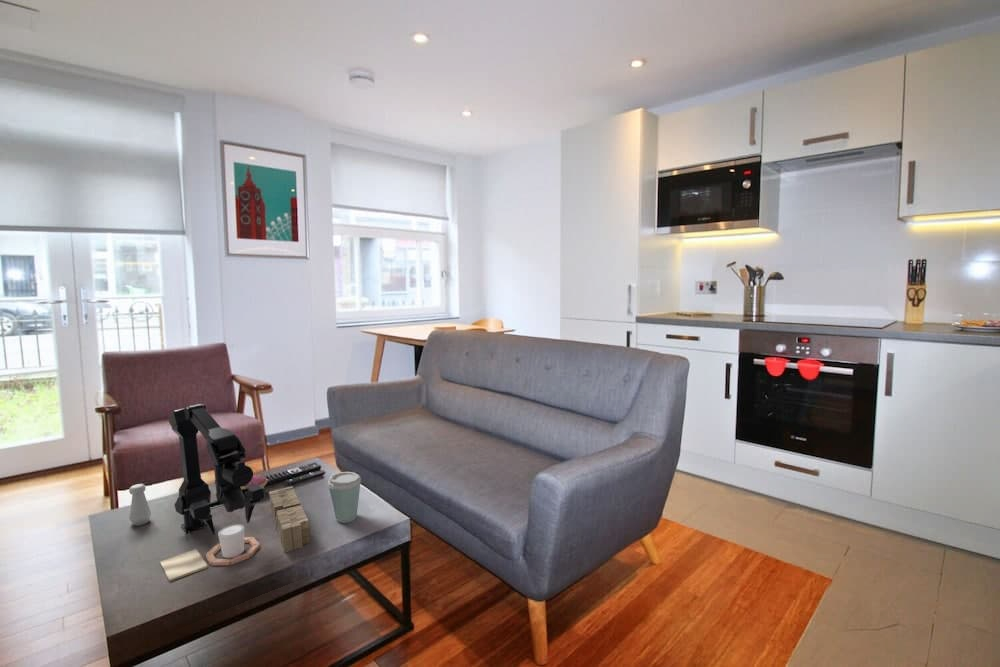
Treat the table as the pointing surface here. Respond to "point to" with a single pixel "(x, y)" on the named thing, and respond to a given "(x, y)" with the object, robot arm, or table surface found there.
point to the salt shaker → (139, 505)
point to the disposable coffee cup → (345, 495)
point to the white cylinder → (232, 540)
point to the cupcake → (256, 481)
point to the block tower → (289, 518)
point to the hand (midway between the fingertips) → (231, 528)
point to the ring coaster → (234, 560)
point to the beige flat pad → (183, 565)
